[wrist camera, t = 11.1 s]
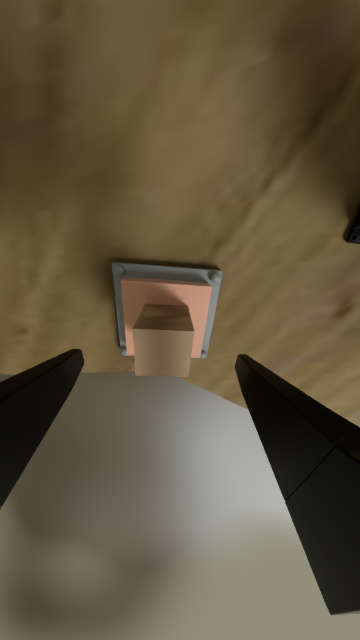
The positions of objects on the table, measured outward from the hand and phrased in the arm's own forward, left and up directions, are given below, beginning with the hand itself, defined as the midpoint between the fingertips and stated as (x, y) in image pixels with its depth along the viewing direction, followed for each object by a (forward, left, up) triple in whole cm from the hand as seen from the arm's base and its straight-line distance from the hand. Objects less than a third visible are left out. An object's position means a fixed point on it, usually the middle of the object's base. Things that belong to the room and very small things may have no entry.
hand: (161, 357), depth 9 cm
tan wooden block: (0, +3, -10) cm, 10 cm away
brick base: (0, +3, -13) cm, 13 cm away
